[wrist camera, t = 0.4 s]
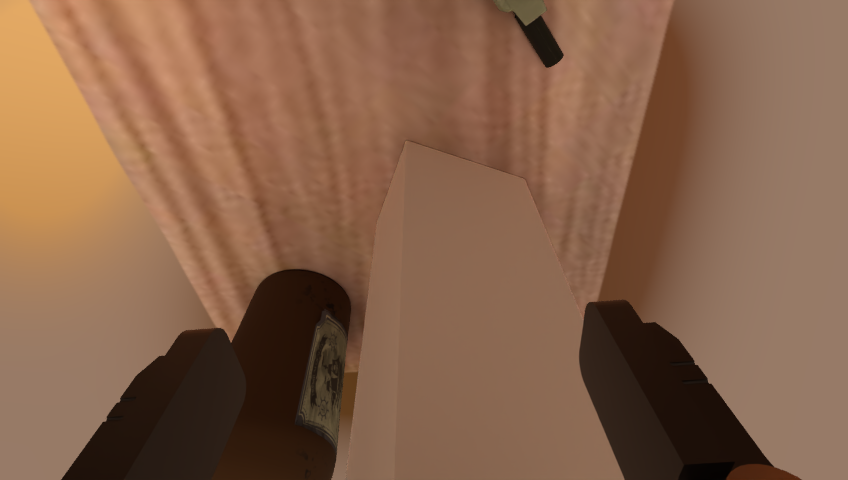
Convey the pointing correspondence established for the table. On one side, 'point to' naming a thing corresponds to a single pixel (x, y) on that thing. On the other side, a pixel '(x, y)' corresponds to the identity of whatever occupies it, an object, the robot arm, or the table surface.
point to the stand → (470, 337)
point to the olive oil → (289, 380)
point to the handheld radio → (534, 27)
